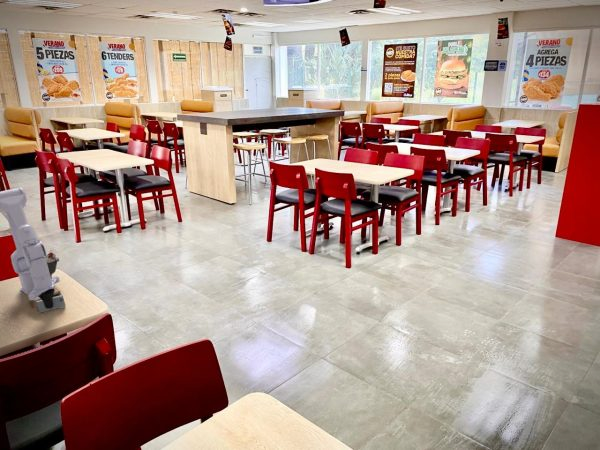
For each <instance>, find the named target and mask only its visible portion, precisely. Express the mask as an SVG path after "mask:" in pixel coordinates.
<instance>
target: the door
mask: <svg viewBox="0 0 600 450" xmlns="http://www.w3.org/2000/svg"><path fill="white" fill-rule="evenodd" d="M37 305H38V309H39V312H38V313H44V312H47V311H48V312H49V311H52V310H56V309H60V308H65V307H66V303H65V298H64V295H63V294H61V296H56V297H53V308H51V309H46V307H45V305H44V302H43V301H42V300H39V301H37Z"/></svg>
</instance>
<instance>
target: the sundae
mask: <svg viewBox="0 0 600 450" xmlns="http://www.w3.org/2000/svg"><path fill="white" fill-rule="evenodd" d="M44 257H45V256H44ZM45 258H46V262H47V265H48V269H49V273H50V276H51V278H53V277H52V276H53V274H55V273H56V270H57V263H58V262H60V258H59V257H57V255H56V253H54V252H52V250H50V252H49V253H47V254H46V257H45Z"/></svg>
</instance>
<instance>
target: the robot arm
mask: <svg viewBox="0 0 600 450" xmlns="http://www.w3.org/2000/svg"><path fill="white" fill-rule="evenodd" d="M26 196H27V195H26V193H25V191H24V188H23V187H16V188H12V189H11V188H10V189H6V190H3V191H2V190H1V191H0V212H3V213H4V214H5V216H6V219H7V222H8V225H9V229H10V233H11V235H12V238H13V241H14V242H13V243H14V245H15V249H16V250H14V251H13V253H12V254H11V255H10V259H11V264H12V267H13V270H14V272H15V273H16V274H18V278H19V281H20V284H21V287H20V288H19V290H20V291H22V292H23V293H24V294H25V295H26V293H28V292H31V291H32V292H31V293H30V294H29V295H28V297H29V300H35V299H36V297H39V298H41V299H42V301H43V302H44V305H45V307H46V309H51V308H53V294H54V292H55V290H54V289H53V288H54V287H55V288H56V283H59V282H60V277H59V276H53V277H52V278H51V276H50V273H49V269H48V265H47V262H46V258H45V257H46V256H47V251H46V248H45V245H44V243H43V242H42V241H41V239H39V238H38V235H37V232H36V230H35V228H34V227H33V226H32V225H29V222H28V219H27V217H26V216H27V215H26V214H25V213H26V212H25V210H24V209H25V207H26V206H27V197H26Z"/></svg>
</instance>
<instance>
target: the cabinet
mask: <svg viewBox="0 0 600 450" xmlns="http://www.w3.org/2000/svg"><path fill="white" fill-rule="evenodd" d="M53 289H54V290H55V292H54V294H53V297H56V296H61V295H62V293H61V290H60V289H58V288H57V287H56V286H55V287H54V288H53ZM31 292H32V291H31ZM31 292H28V293H26V294H25V295H26V300H27V302H28V304H29V306H30V307H32V308H33V309H34V310H35V311H37V312H38V313H40V312H39V309H38V305H37V301H39V300H42V299H41V298H39V297H36V299H35V300H29V297H28V295H29V294H30V293H31Z"/></svg>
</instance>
